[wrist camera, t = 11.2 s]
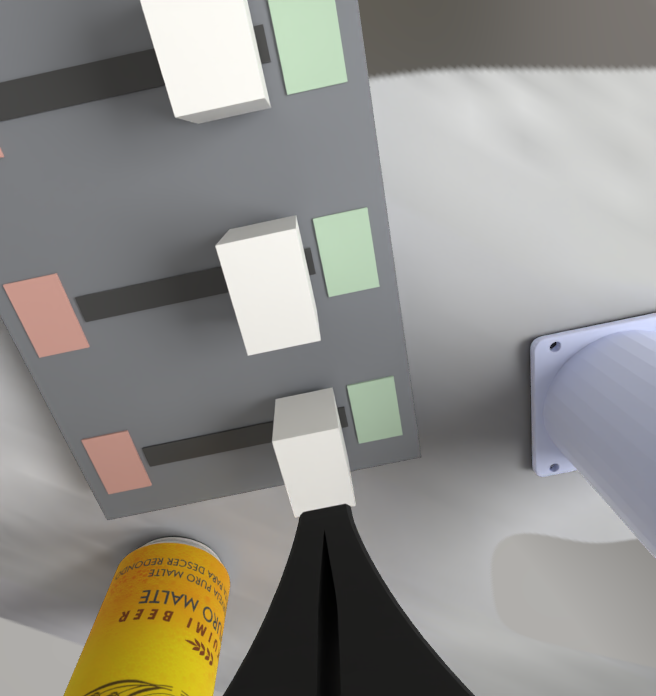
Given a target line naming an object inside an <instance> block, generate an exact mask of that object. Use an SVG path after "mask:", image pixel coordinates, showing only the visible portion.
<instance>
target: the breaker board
mask: <svg viewBox="0 0 656 696" xmlns="http://www.w3.org/2000/svg"><path fill="white" fill-rule="evenodd" d="M247 1H248V6H249V10H250V15H251V19H252V24H253V29H254V33H255V38H256V42H257V47H258V51H259V56H260V60H261V65H262V69H263V74H264V79H265V83H266V88H267V92H268V97H269V101H270V106H271V108H268V109H264V110H259V111H254V112H250V113H245V114H241V115H236V116H232V117H227V118H222V119H218V120H213V121H209V122H204V123H199V124H197V123H193V122H190V121H186V120H182V119H179V118H175V116H174V112H173V109H172V106H171V102H170V99H169V96H168V92H167V89H166V86H165V82H164V79H163V76H162V72H161V69H160V65H159V62H158V59H157V55H156V52H155V49H154V45H153V42H152V39H151V35H150V32H149V29H148V25H147V22H146V19H145V15H144V12H143V9H142V5H141V2H140V0H0V316H1V318H2V320H3V322H4V324H5V326H6V328H7V330H8V331H9V333H10V335H11V337H12V339H13V341H14V343H15V345H16V347H17V349H18V351H19V353H20V354H21V356H22V358H23V360H24V362H25V364H26V366H27V368H28V370H29V372H30V374H31V375H32V377H33V379H34V381H35V383H36V385H37V387H38V389H39V391H40V393H41V395H42V396H43V398H44V400H45V402H46V404H47V406H48V408H49V410H50V412H51V414H52V416H53V417H54V419H55V421H56V423H57V425H58V427H59V429H60V431H61V433H62V435H63V437H64V439H65V440H66V442H67V444H68V446H69V448H70V450H71V452H72V454H73V456H74V458H75V460H76V461H77V463H78V465H79V467H80V469H81V471H82V473H83V475H84V477H85V479H86V481H87V482H88V484H89V486H90V488H91V490H92V492H93V494H94V496H95V498H96V500H97V502H98V504H99V505H100V507H101V509H102V511H103V513H104V515H105V517H106V519H107V520H111V519H116V518H121V517H126V516H131V515H136V514H141V513H146V512H151V511H156V510H161V509H166V508H171V507H176V506H181V505H186V504H191V503H196V502H201V501H206V500H211V499H216V498H221V497H226V496H231V495H236V494H241V493H246V492H250V491H255V490H260V489H265V488H270V487H275V486H280V485H285V483H284V480H283V477H282V473H281V470H280V467H279V463H278V460H277V457H276V453H275V450H274V447H273V443H272V436H273V424H274V413H275V401H276V399H279V398H284V397H288V396H293V395H298V394H303V393H308V392H313V391H318V390H323V389H327V388H332V387H333V392H334V396H335V401H336V405H337V410H338V414H339V419H340V424H341V428H342V433H343V437H344V442H345V446H346V451H347V455H348V461H349V467H350V471H355V470H360V469H365V468H370V467H375V466H380V465H385V464H390V463H395V462H400V461H405V460H410V459H415V458H420V457H421V452H420V445H419V438H418V431H417V423H416V416H415V409H414V402H413V395H412V387H411V380H410V373H409V366H408V359H407V351H406V344H405V337H404V330H403V323H402V316H401V308H400V301H399V294H398V287H397V280H396V272H395V265H394V258H393V251H392V244H391V236H390V229H389V222H388V215H387V208H386V201H385V193H384V186H383V179H382V172H381V165H380V157H379V150H378V143H377V136H376V129H375V121H374V114H373V107H372V100H371V93H370V86H369V78H368V71H367V65H366V57H365V50H364V43H363V35H362V28H361V21H360V14H359V7H358V0H247ZM294 215H296V217H297V222H298V226H299V231H300V235H301V240H302V244H303V249H304V254H305V258H306V263H307V267H308V272H309V276H310V281H311V285H312V290H313V295H314V299H315V304H316V308H317V315H318V322H319V330H320V338H321V341H316V342H312V343H307V344H302V345H297V346H292V347H287V348H283V349H278V350H273V351H268V352H263V353H259V354H254V355H249V356H248V354H247V351H246V347H245V344H244V341H243V337H242V334H241V331H240V327H239V324H238V321H237V317H236V314H235V310H234V307H233V304H232V300H231V297H230V294H229V290H228V287H227V284H226V280H225V277H224V273H223V270H222V267H221V263H220V260H219V257H218V253H217V250H216V247H215V245H216V244H217V243H218V242H219V241H220V240H221V238H222V237H223V236H224V235H225V234H226V233H227V231H228V230H229V229H233V228H238V227H243V226H247V225H252V224H257V223H262V222H266V221H271V220H276V219H280V218H285V217H290V216H294Z"/></svg>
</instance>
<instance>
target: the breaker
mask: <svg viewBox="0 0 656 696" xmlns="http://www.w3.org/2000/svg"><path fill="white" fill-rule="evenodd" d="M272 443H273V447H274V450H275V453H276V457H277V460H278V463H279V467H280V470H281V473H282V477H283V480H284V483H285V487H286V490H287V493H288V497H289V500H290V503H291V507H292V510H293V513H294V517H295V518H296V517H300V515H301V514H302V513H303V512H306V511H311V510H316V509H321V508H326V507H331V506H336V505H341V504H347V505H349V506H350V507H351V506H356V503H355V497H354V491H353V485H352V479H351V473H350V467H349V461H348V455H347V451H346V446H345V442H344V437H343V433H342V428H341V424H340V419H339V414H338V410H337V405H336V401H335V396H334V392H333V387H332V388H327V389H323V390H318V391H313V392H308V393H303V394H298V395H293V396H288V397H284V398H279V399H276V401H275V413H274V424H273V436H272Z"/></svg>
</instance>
